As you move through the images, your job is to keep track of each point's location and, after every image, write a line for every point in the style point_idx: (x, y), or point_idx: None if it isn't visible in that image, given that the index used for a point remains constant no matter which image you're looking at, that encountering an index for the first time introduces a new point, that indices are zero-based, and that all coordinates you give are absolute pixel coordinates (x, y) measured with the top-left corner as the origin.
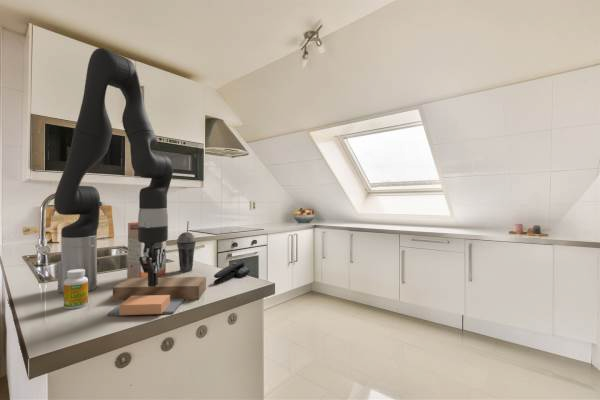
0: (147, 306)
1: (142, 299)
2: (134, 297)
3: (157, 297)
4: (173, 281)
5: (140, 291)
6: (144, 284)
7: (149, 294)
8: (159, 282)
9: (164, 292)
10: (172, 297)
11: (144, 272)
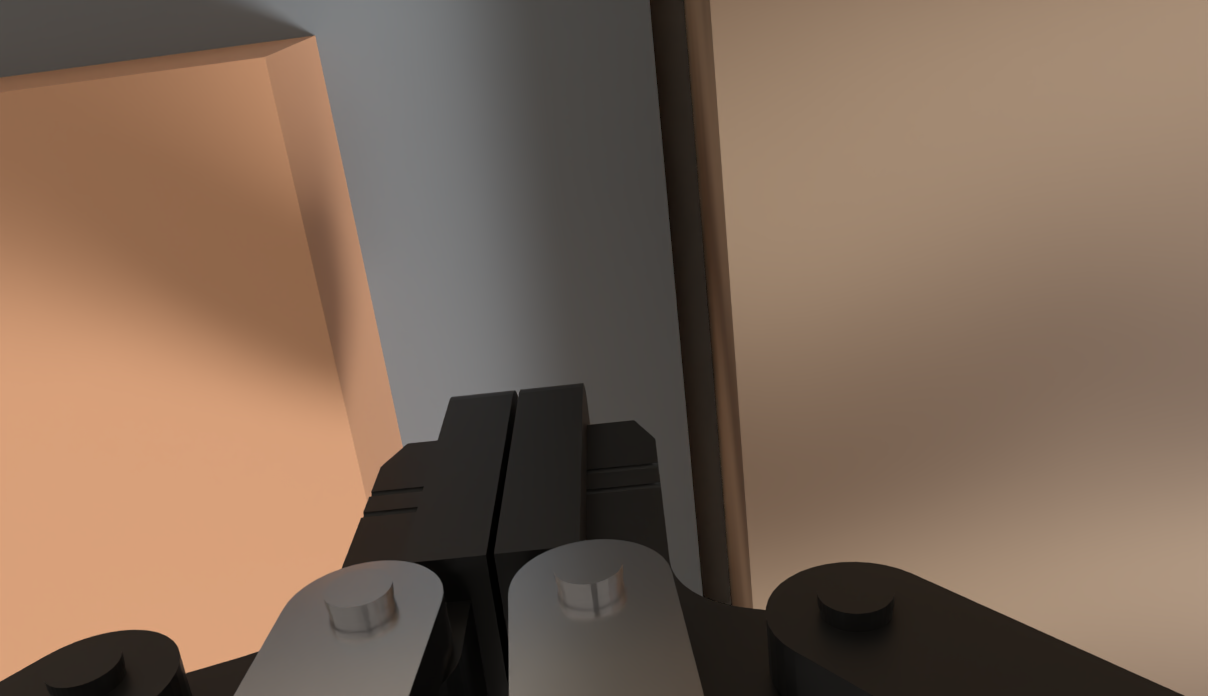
0: None
1: (90, 408)
2: (173, 182)
3: (252, 613)
4: (1153, 591)
5: (699, 24)
6: (937, 23)
7: (711, 209)
8: (1096, 323)
9: (736, 502)
10: (731, 580)
11: (68, 655)
